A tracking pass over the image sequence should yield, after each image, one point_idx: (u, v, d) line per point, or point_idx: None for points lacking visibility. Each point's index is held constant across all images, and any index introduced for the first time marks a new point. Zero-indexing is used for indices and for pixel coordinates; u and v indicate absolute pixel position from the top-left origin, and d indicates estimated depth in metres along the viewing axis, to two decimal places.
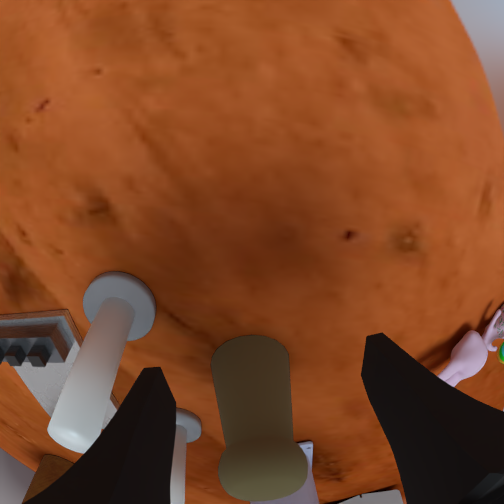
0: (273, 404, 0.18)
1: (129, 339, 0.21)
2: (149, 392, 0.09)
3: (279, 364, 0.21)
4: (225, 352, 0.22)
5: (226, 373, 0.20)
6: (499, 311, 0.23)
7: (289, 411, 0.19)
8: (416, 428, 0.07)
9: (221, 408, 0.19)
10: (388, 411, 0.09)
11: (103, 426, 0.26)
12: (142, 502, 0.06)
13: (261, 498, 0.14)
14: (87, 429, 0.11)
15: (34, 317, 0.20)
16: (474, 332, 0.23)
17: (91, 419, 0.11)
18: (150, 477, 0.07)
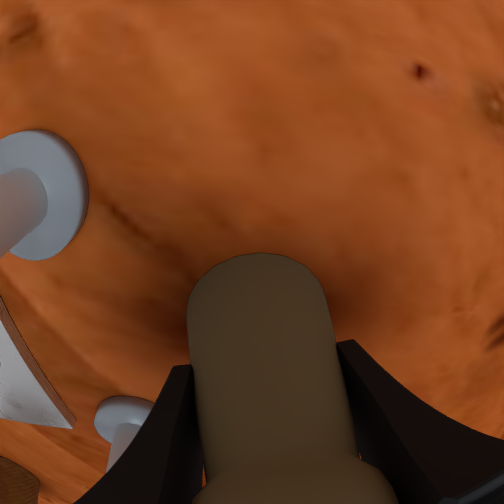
0: (316, 379, 0.08)
1: (42, 256, 0.11)
2: (183, 390, 0.09)
3: (316, 303, 0.11)
4: (210, 284, 0.12)
5: (209, 321, 0.10)
6: None
7: (346, 396, 0.08)
8: (380, 440, 0.07)
9: (197, 393, 0.09)
10: (356, 420, 0.09)
11: (38, 421, 0.16)
12: None
13: None
14: None
15: None
16: None
17: None
18: (187, 477, 0.07)
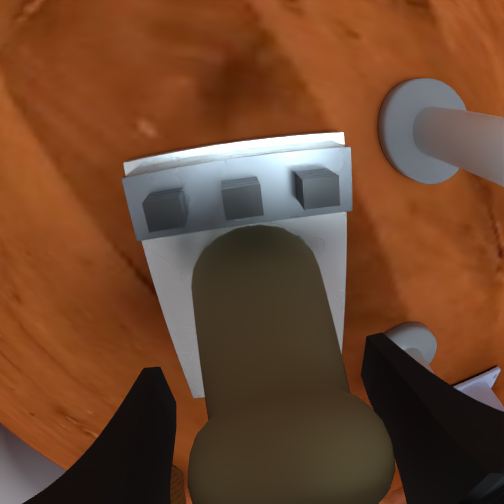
0: (310, 325, 0.09)
1: (433, 181, 0.13)
2: (149, 392, 0.09)
3: (309, 267, 0.12)
4: (214, 251, 0.13)
5: (213, 281, 0.12)
6: None
7: (338, 346, 0.10)
8: (416, 428, 0.07)
9: (202, 344, 0.10)
10: (388, 411, 0.09)
11: None
12: (142, 502, 0.06)
13: None
14: None
15: (271, 137, 0.12)
16: None
17: None
18: (150, 477, 0.07)
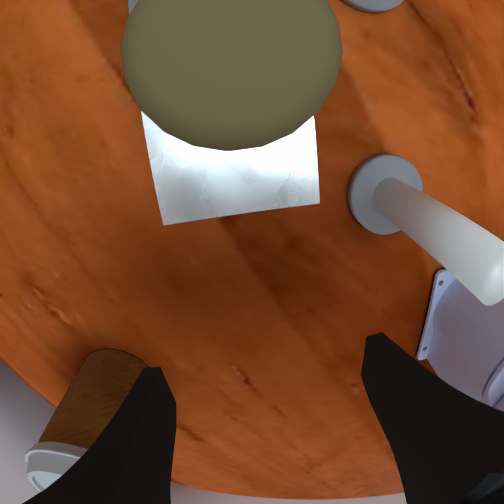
0: None
1: (377, 7, 0.13)
2: (149, 392, 0.09)
3: None
4: None
5: None
6: None
7: None
8: (416, 428, 0.07)
9: None
10: (388, 411, 0.09)
11: (270, 202, 0.18)
12: (142, 502, 0.06)
13: (218, 56, 0.05)
14: None
15: None
16: None
17: None
18: (150, 477, 0.07)
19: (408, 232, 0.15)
